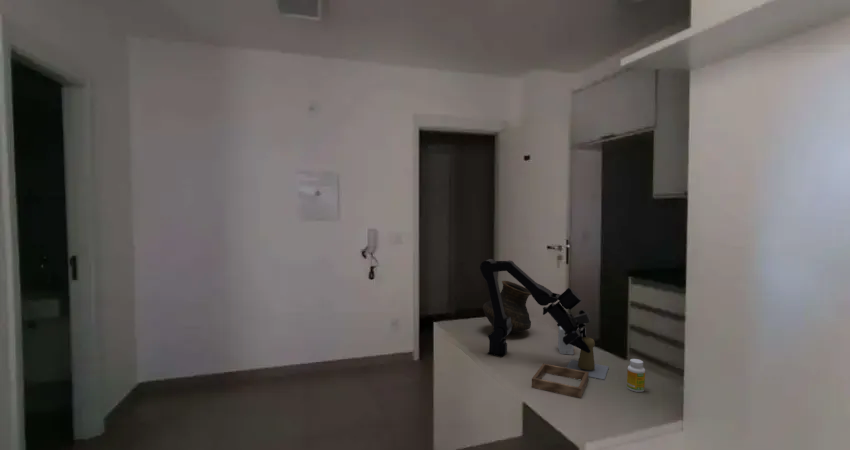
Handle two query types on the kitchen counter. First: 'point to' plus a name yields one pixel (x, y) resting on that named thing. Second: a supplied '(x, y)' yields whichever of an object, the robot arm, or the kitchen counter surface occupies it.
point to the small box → (561, 345)
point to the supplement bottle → (636, 376)
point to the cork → (587, 355)
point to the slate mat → (596, 373)
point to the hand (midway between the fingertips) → (590, 350)
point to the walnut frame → (559, 387)
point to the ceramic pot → (512, 306)
